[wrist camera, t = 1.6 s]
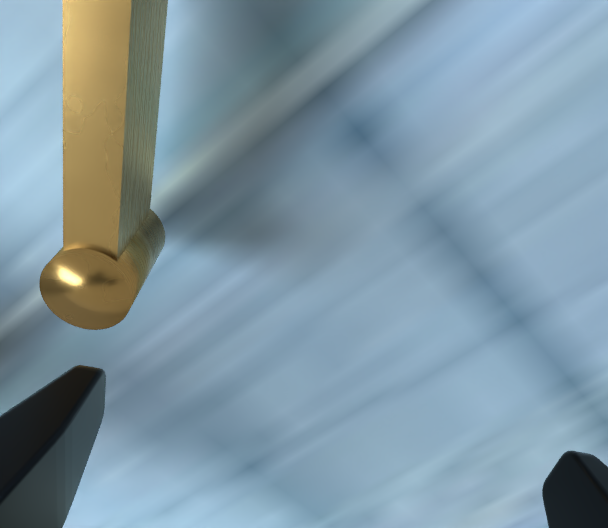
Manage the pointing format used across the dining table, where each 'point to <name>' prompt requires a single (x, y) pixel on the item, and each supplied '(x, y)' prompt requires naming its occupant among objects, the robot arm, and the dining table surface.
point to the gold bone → (107, 159)
